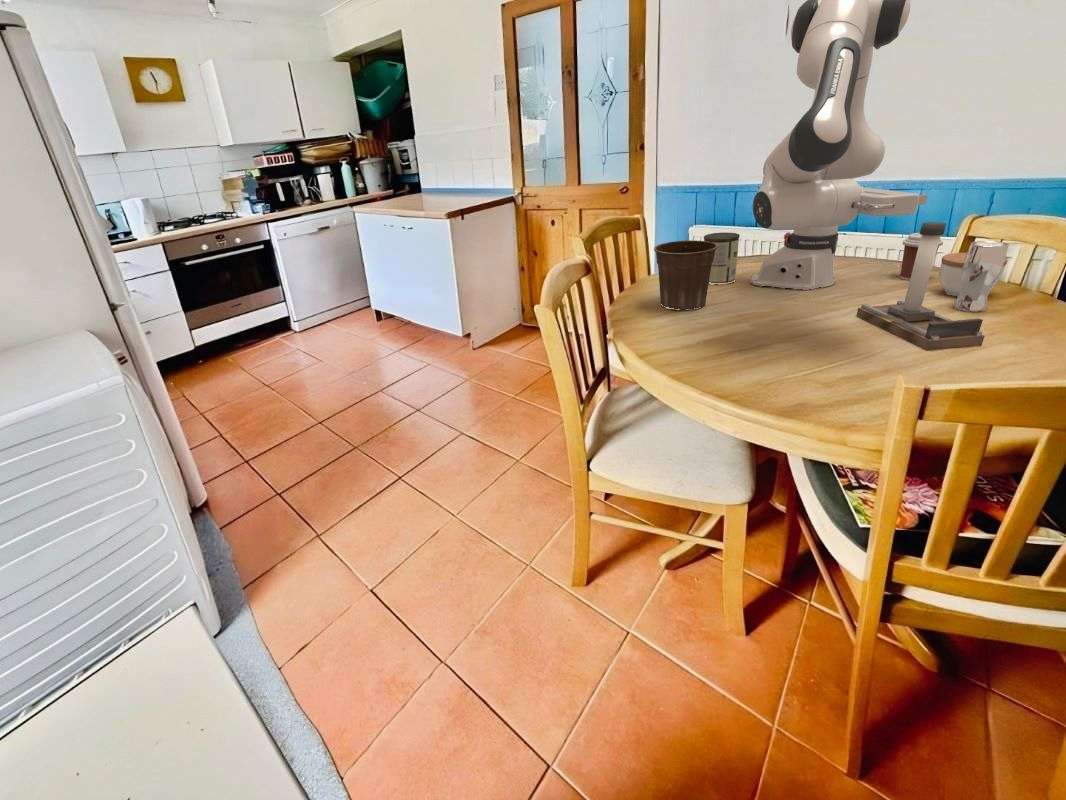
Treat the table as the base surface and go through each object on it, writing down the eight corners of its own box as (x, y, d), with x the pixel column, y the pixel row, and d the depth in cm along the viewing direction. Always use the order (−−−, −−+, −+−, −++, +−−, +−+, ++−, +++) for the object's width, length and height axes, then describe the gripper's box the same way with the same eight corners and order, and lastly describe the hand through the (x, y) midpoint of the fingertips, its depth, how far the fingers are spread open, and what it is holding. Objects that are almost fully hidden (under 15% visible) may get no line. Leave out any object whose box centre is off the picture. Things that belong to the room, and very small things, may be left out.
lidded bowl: (921, 293, 132) (932, 250, 127) (952, 284, 136) (964, 242, 131) (975, 303, 122) (990, 257, 117) (1007, 294, 126) (1022, 249, 121)
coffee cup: (891, 280, 144) (901, 237, 139) (896, 273, 150) (907, 231, 145) (930, 283, 139) (943, 238, 133) (934, 275, 145) (946, 232, 139)
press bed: (856, 315, 121) (860, 295, 119) (901, 311, 121) (906, 291, 119) (927, 350, 101) (934, 326, 98) (981, 345, 101) (989, 321, 98)
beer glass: (994, 312, 116) (1017, 245, 109) (959, 313, 117) (980, 247, 110) (977, 303, 122) (998, 240, 115) (944, 304, 123) (963, 241, 116)
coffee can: (701, 277, 165) (704, 232, 159) (735, 277, 162) (739, 231, 155) (700, 285, 157) (703, 238, 150) (735, 285, 153) (740, 237, 147)
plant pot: (689, 317, 131) (693, 254, 123) (640, 307, 142) (641, 249, 135) (724, 302, 139) (730, 242, 132) (676, 293, 151) (678, 238, 143)
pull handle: (887, 313, 114) (909, 223, 105) (913, 311, 114) (937, 220, 105) (905, 321, 109) (930, 227, 100) (933, 319, 109) (960, 224, 100)
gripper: (876, 189, 89) (952, 183, 90) (813, 182, 108) (877, 177, 108) (868, 226, 92) (942, 220, 92) (808, 213, 111) (870, 208, 111)
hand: (906, 196), depth 100 cm, fingers open, 8 cm apart
